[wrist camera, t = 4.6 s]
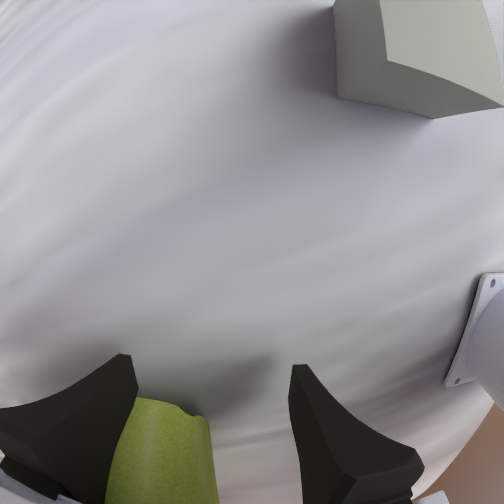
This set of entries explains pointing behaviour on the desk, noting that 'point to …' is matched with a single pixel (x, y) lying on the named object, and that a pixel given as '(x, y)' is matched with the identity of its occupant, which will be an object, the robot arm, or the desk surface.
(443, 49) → the slate block
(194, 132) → the desk surface
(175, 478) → the plant pot
